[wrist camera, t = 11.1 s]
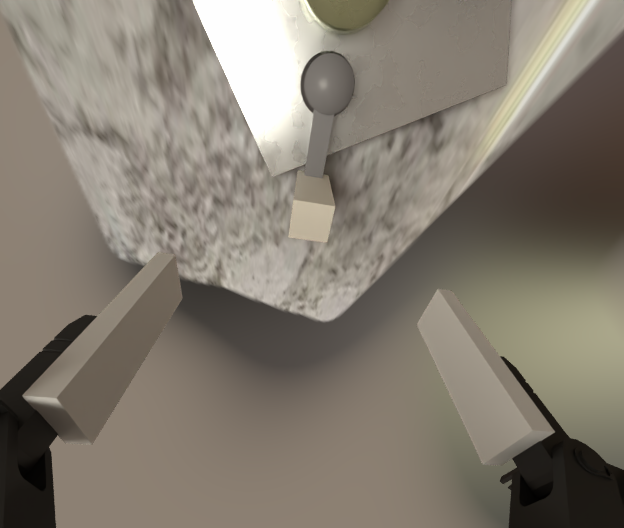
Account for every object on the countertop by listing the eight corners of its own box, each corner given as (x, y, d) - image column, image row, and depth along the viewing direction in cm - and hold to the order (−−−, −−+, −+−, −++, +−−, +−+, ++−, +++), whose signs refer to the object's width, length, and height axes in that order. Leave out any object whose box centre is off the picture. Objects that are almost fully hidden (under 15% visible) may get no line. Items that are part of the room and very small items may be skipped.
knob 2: (308, 51, 20) (308, 29, 13) (356, 62, 21) (380, 46, 14) (290, 199, 27) (283, 236, 20) (325, 205, 28) (331, 243, 21)
